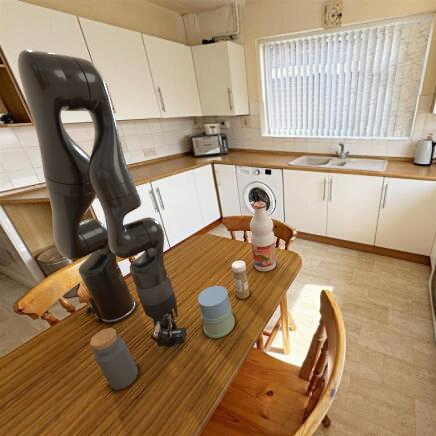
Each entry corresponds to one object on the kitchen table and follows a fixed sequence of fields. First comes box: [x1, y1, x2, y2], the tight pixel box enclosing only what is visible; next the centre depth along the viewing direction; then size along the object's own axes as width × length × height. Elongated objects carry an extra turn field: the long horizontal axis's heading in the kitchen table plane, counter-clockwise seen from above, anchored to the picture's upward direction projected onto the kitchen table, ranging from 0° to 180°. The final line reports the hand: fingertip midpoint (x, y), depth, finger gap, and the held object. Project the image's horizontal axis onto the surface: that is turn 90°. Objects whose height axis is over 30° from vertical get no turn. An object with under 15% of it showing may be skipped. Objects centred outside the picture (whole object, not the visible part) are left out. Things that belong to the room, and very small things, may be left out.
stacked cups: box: [197, 285, 236, 339], centre depth 71 cm, size 9×9×12 cm
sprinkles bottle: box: [231, 260, 250, 300], centre depth 82 cm, size 5×5×14 cm
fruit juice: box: [249, 201, 277, 272], centre depth 95 cm, size 9×9×28 cm
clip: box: [156, 326, 188, 348], centre depth 67 cm, size 7×3×3 cm, turn 99°
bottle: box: [89, 327, 139, 391], centre depth 57 cm, size 6×6×15 cm
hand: (172, 339), depth 68 cm, fingers closed on clip, 3 cm apart
